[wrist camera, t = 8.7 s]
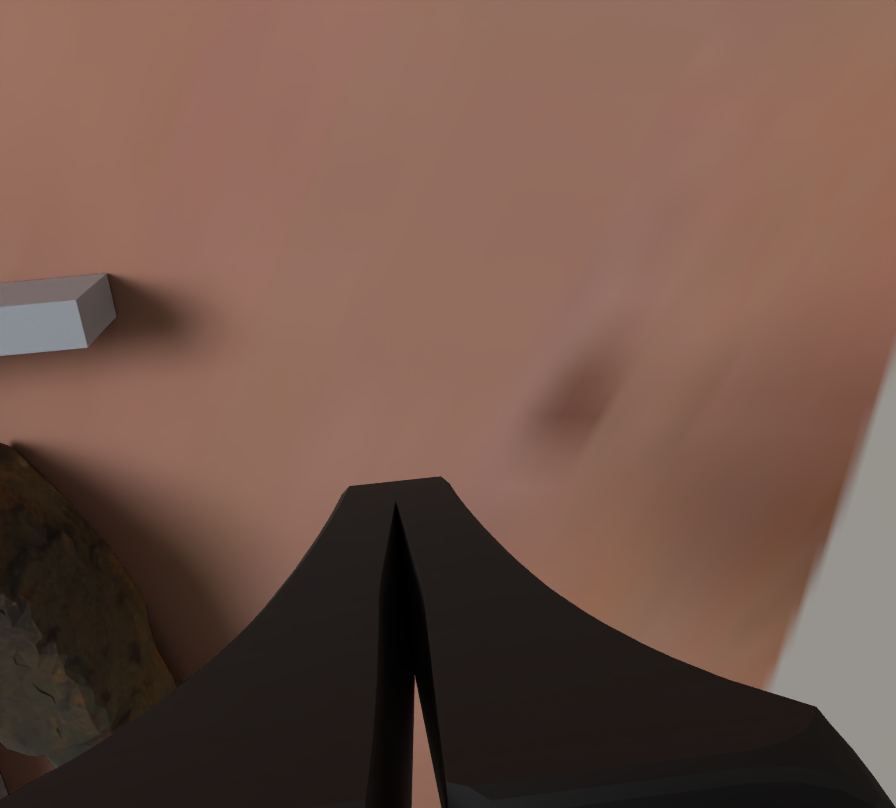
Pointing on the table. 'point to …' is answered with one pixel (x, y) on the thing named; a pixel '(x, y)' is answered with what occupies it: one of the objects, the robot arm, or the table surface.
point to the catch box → (53, 320)
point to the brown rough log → (66, 626)
